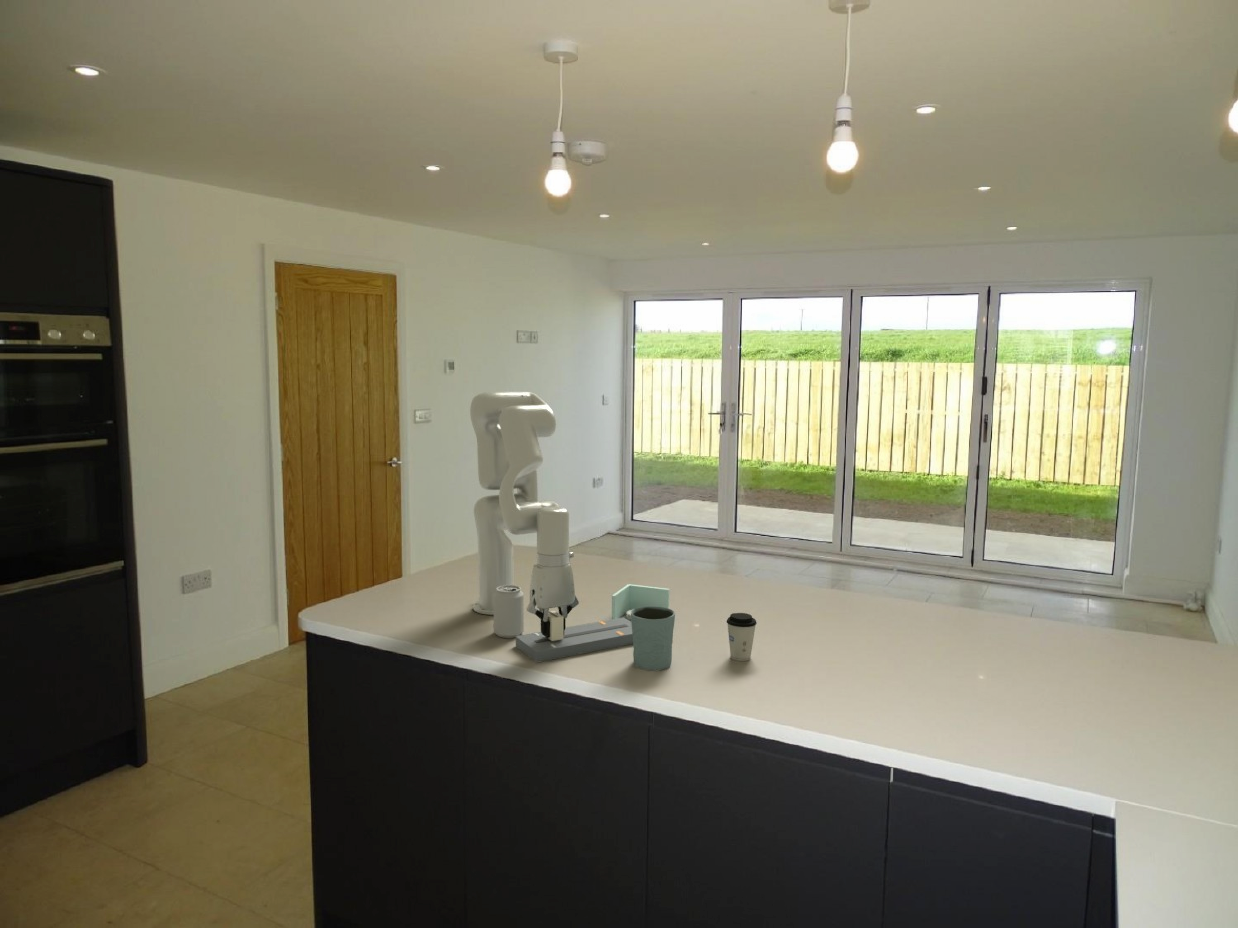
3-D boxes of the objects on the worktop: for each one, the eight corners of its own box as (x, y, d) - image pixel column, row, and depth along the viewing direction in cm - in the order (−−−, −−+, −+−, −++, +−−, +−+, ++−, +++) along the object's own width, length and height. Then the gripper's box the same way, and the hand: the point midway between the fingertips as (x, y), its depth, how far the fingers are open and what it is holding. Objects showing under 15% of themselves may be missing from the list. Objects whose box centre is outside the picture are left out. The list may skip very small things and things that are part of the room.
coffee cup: (758, 654, 194) (759, 613, 193) (752, 664, 187) (754, 622, 186) (728, 650, 196) (729, 609, 195) (722, 660, 190) (723, 618, 188)
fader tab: (542, 634, 197) (542, 612, 196) (554, 632, 199) (554, 610, 198) (551, 640, 193) (551, 617, 192) (563, 638, 194) (563, 615, 194)
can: (518, 640, 202) (518, 592, 200) (489, 637, 204) (488, 590, 202) (527, 630, 209) (527, 584, 208) (499, 628, 211) (499, 582, 209)
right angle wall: (611, 623, 217) (611, 595, 216) (628, 610, 228) (628, 583, 227) (654, 628, 213) (654, 600, 212) (669, 615, 224) (669, 588, 223)
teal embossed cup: (643, 674, 181) (644, 621, 179) (622, 659, 190) (622, 609, 188) (682, 666, 186) (683, 615, 184) (660, 652, 195) (660, 603, 193)
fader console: (515, 646, 198) (515, 635, 197) (623, 626, 213) (623, 616, 212) (536, 662, 187) (536, 651, 187) (647, 640, 202) (647, 630, 202)
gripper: (576, 552, 201) (576, 624, 203) (514, 559, 192) (515, 635, 195) (591, 558, 194) (590, 633, 196) (527, 567, 186) (527, 645, 188)
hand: (553, 633), depth 196 cm, fingers closed on fader tab, 3 cm apart
